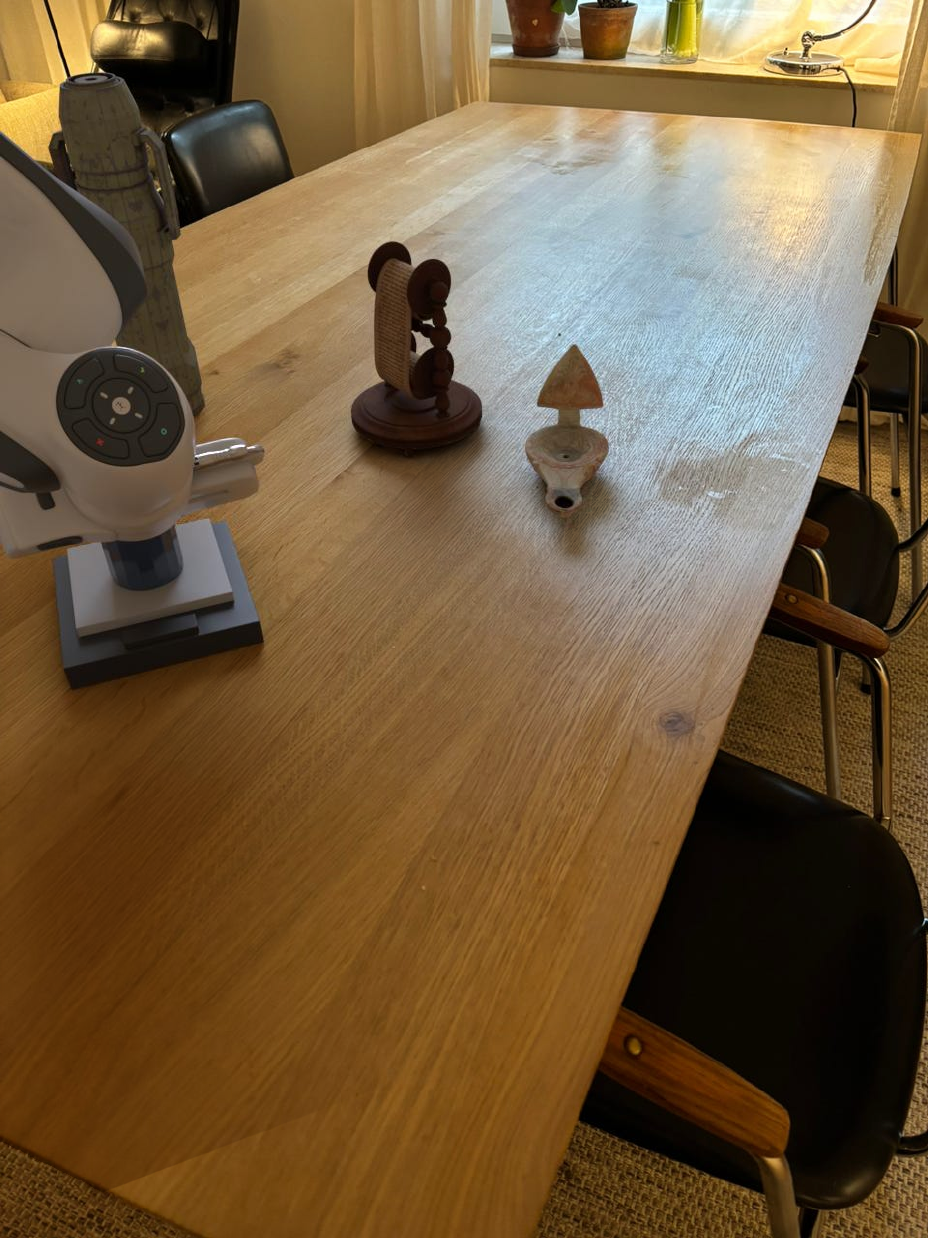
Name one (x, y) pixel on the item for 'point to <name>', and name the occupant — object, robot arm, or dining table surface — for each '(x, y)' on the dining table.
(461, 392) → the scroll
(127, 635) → the scale
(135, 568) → the cup
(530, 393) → the dining table surface
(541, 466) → the oil lamp
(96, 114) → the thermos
